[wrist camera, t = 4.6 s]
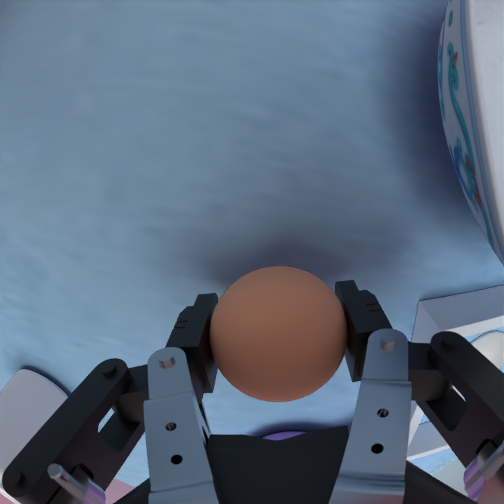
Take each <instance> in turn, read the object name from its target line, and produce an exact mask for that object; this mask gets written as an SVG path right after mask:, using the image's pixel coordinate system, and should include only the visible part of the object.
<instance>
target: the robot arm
mask: <svg viewBox="0 0 504 504" xmlns="http://www.w3.org/2000/svg"><path fill="white" fill-rule="evenodd" d="M335 294H336V296H337V298H338V299H339V301H340V303H341V305H342V307H343V310H344V312H345V316H346V321H347V328H348V340H347V346H346V351H345V358H346V361H347V365H348V369H349V372H350V376H351V380H352V382H356V381H361V384H360V389H359V394H358V399H357V404H356V408H355V413H354V417H353V422H352V426H351V430H350V434H349V432H348V427H347V426H341V427H334V428H327V429H319V430H312V431H309V432H306V433H303V434H300V435H296V436H293V437H289V438H286V439H282V440H270V439H264V438H258V437H253V436H247V435H215V434H211V430H210V426H209V423H208V419H207V416H206V412H205V408H204V405H203V402H202V398H203V394H204V393H213V390H214V385H215V380H216V374H217V369H218V366H217V364H216V362H215V360H214V357H213V354H212V351H211V346H210V324H211V318H212V315H213V312H214V309H215V307H216V305H217V303H218V297H217V294H216V293H210V294H199V295H198V296H197V299H196V301H195V304H194V306H187V307H186V308H185V309H184V310H183V311H182V312H181V313H180V314H179V317H178V319H177V323H175V326H174V329H173V330H172V333H171V335H170V337H169V340H168V342H167V344H166V347H165V348H163V349H160V350H158V351H156V352H155V353H153V354H152V355H151V356H150V358H149V359H148V364H146V365H142V366H137V367H133V368H128V367H127V365H126V363H125V362H124V361H123V360H121V359H117V358H113V359H108V360H105V361H103V362H101V363H100V364H98V365H97V366H96V367H95V368H94V370H93V371H92V372H91V373H90V374H89V375H88V376H87V377H86V378H85V379H84V380H83V381H82V383H81V384H80V385H79V386H78V387H77V388H76V389H75V390H74V391H73V392H72V393H71V395H70V396H69V397H68V398H67V399H66V400H65V401H64V402H63V403H62V404H61V406H60V407H59V408H58V409H57V410H56V411H55V412H54V413H53V415H52V416H51V417H50V418H49V419H48V420H47V421H46V422H45V424H44V425H43V426H42V427H41V428H40V429H39V430H38V432H37V433H36V434H35V435H34V436H33V437H32V438H31V440H30V441H29V442H28V443H27V444H26V445H25V446H24V448H23V449H22V450H21V451H20V452H19V454H18V455H17V456H16V457H15V458H14V459H13V461H12V462H11V463H10V464H9V465H8V467H7V468H6V469H5V471H4V473H3V475H2V485H3V488H4V490H5V492H6V493H7V494H9V495H10V496H11V497H12V498H14V499H15V500H16V501H18V502H19V503H20V504H105V500H106V498H105V493H104V492H105V490H106V489H107V487H108V486H109V484H110V483H111V481H112V480H113V478H114V477H115V475H116V474H117V472H118V471H119V469H120V468H121V466H122V465H123V463H124V462H125V460H126V459H127V457H128V456H129V454H130V453H131V451H132V450H133V448H134V447H135V445H136V444H137V442H138V441H139V439H140V438H141V436H142V435H143V433H144V432H145V436H146V448H147V458H148V467H149V475H150V477H149V478H148V479H147V480H145V481H144V482H143V483H141V484H140V485H139V486H137V487H136V488H135V489H133V490H132V491H131V492H129V493H128V494H126V495H125V496H123V497H122V498H121V499H119V500H118V501H116V502H115V503H113V504H504V373H503V372H502V371H500V370H499V369H498V368H497V367H496V366H495V365H494V364H493V363H492V362H491V361H490V360H488V359H487V358H486V357H485V356H484V355H483V354H482V353H481V352H480V351H478V350H477V349H476V348H475V347H474V346H473V345H472V344H471V343H469V342H468V341H467V340H466V339H465V338H464V337H463V336H461V335H460V334H458V333H456V332H452V331H441V332H438V333H436V334H435V335H433V337H432V338H431V341H430V343H414V342H409V341H408V339H407V337H406V336H405V335H404V334H403V333H402V332H400V331H398V330H395V329H393V328H392V326H391V324H390V322H389V320H388V319H387V317H386V315H385V313H384V311H383V310H382V308H381V306H380V304H379V302H378V300H377V299H376V297H375V295H373V294H372V293H370V292H369V291H367V290H361V291H359V290H358V288H357V286H356V284H355V282H354V280H347V281H338V282H336V283H335ZM453 386H454V387H455V388H456V389H457V390H458V391H459V392H460V394H461V395H462V396H463V397H464V398H465V400H466V402H465V401H464V400H463V398H462V397H461V396H460V395H459V394H458V393H457V392H456V391H455V390H454V388H453ZM411 401H416V403H417V405H418V406H419V407H420V409H421V410H422V411H423V412H424V414H425V415H426V416H427V418H428V419H429V420H430V422H431V423H432V424H433V425H434V427H435V428H436V429H437V431H438V432H439V433H440V435H441V436H442V437H443V439H444V440H445V441H446V443H447V444H448V445H449V447H450V448H451V449H452V451H453V452H454V453H455V455H456V456H457V457H458V459H459V460H460V461H461V463H462V464H463V465H464V467H465V468H466V470H465V473H464V484H465V491H466V492H467V493H468V497H466V496H465V495H463V494H461V493H459V492H458V491H456V490H454V489H453V488H451V487H449V486H448V485H446V484H444V483H443V482H441V481H439V480H438V479H436V478H434V477H433V476H431V475H430V474H428V473H426V472H425V471H423V470H422V469H420V468H419V467H417V466H415V465H414V464H412V463H411V462H409V461H408V460H406V459H407V450H408V441H409V429H410V415H411ZM111 408H112V409H113V411H114V414H113V415H112V416H111V418H110V419H109V420H108V421H107V423H106V424H105V425H104V427H103V428H102V429H101V431H100V432H99V433H98V425H99V423H100V421H101V420H102V419H103V418H104V416H105V415H106V414H107V412H108V411H109V410H110V409H111Z"/></svg>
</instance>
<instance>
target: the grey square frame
mask: <svg viewBox="0 0 504 504" xmlns="http://www.w3.org/2000/svg"><path fill="white" fill-rule="evenodd" d="M502 326H504V285H502V286H497V287H492V288H488V289H483V290H478V291H473V292H468V293H463V294H457V295H452V296H447V297H441V298H435V299H429V300H423V301H419V303H418V309H417V315H416V321H415V326H414V331H413V336H412V341H411V342H414V343H430V341H431V338H432V337H433V335H435V334H436V333H438V332H441V331H452V332H456V333H458V334H460V335H461V336H463V337H467V336H471V335H474V334H478V333H481V332H485V331H488V330H492V329H495V328H499V327H502ZM423 414H424V412H423V411H422V410H421V409H420V407H419V406H418V405H417V403H416V401H411V415H410V429H409V441H408V450H407V459H406V460H408V461H409V460H413V459H416V458H420V457H423V456H426V455H430V454H433V453H436V452H439V451H442V450H445V449H448V448H450V447H449V445H448V444H447V443H446V441H445V440H444V439H443V437H442V436H441V435H440V433H439V432H438V431H437V429H436V428H435V427H434V425H433V424H432V423H431V422H428V423H424V424H420V425H419V423H420V421H421V419H422V416H423Z"/></svg>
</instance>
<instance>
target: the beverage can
mask: <svg viewBox="0 0 504 504" xmlns="http://www.w3.org/2000/svg"><path fill="white" fill-rule="evenodd" d="M67 398H68V396H67V394H66V393H65V392H64V391H63V390H62V389H60V388H59V387H58V386H57V385H56V384H54V383H53V382H52V381H50V380H49V379H47V378H45V377H44V376H42V375H40V374H38V373H36V372H33V371H31V370H27V369H21V370H18V371H17V372H16V373H15V374H14V376H13V377H12V378H11V379H10V380H9V382H8V383H7V384H6V385H5V387H4V388H3V389H2V390H1V392H0V493H1V494H3V495H4V496H5V497H7V498H8V499H10V500H11V501H12V502H14V503H15V504H20V503H19V502H18V501H16V500H15V499H14V498H12V497H11V496H10V495H9V494H7V493H6V492H5V490H4V488H3V485H2V475H3V473H4V471H5V469H6V468H7V467H8V465H9V464H10V463H11V462H12V461H13V459H14V458H15V457H16V456H17V455H18V454H19V452H20V451H21V450H22V449H23V448H24V446H25V445H26V444H27V443H28V442H29V441H30V440H31V438H32V437H33V436H34V435H35V434H36V433H37V432H38V430H39V429H40V428H41V427H42V426H43V425H44V424H45V422H46V421H47V420H48V419H49V418H50V417H51V416H52V415H53V413H54V412H55V411H56V410H57V409H58V408H59V407H60V406H61V404H62V403H63V402H64V401H65V400H66V399H67Z"/></svg>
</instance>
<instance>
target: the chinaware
mask: <svg viewBox="0 0 504 504" xmlns="http://www.w3.org/2000/svg"><path fill="white" fill-rule="evenodd" d="M438 91H439V101H440V109H441V115H442V121H443V127H444V131H445V136H446V140H447V144H448V148H449V152H450V155H451V159H452V162H453V165H454V168H455V171H456V174H457V177H458V180H459V182H460V185H461V187H462V190H463V192H464V195H465V197H466V199H467V202H468V204H469V206H470V208H471V210H472V212H473V214H474V216H475V218H476V220H477V222H478V224H479V226H480V228H481V230H482V232H483V233H484V235H485V237H486V239H487V240H488V242H489V244H490V245H491V247H492V249H493V250H494V252H495V254H496V255H497V257H498V258H499V260H500V261H501V263H502V264H503V266H504V0H449V1H448V4H447V7H446V11H445V14H444V18H443V22H442V27H441V33H440V39H439V48H438Z"/></svg>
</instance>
